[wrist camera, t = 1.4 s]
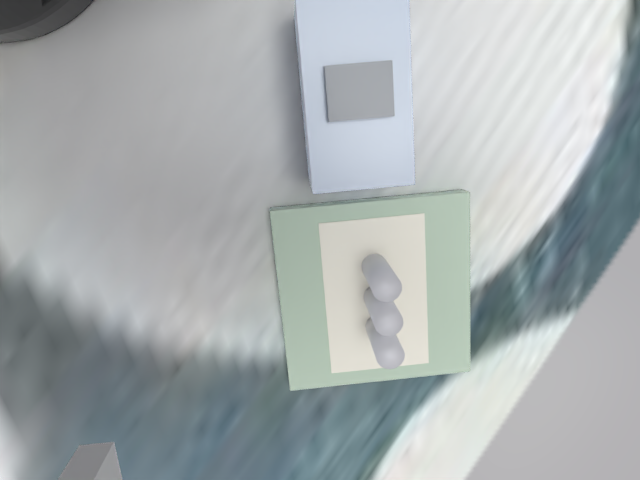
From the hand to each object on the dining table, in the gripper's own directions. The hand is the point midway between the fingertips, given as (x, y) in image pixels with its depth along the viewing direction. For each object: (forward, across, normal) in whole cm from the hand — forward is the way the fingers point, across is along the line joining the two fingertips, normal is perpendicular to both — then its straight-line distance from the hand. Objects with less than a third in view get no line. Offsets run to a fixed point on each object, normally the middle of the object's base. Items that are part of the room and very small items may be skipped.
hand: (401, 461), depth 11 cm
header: (+19, +2, -3) cm, 19 cm away
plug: (+19, +1, +8) cm, 21 cm away
